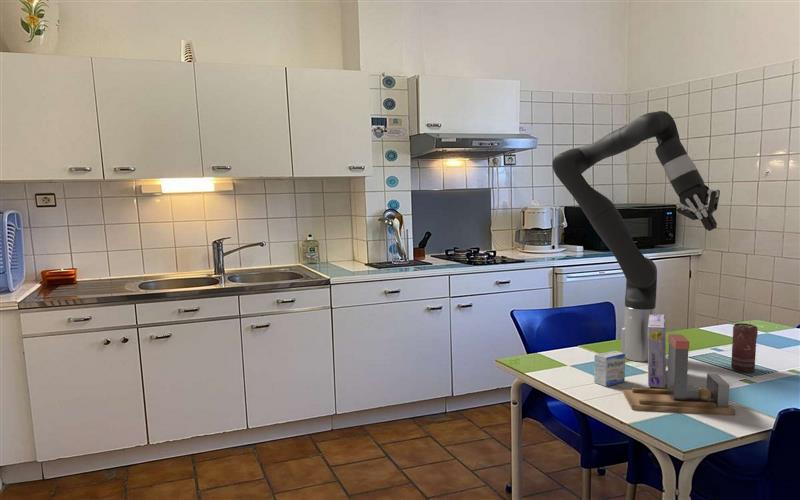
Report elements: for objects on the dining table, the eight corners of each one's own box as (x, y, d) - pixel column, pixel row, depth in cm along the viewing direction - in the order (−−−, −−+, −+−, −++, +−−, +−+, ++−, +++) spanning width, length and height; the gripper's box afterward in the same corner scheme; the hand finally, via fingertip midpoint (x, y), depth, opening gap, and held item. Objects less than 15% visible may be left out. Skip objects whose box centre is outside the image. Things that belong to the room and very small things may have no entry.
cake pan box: (647, 367, 173) (649, 311, 171) (665, 369, 171) (667, 313, 169) (645, 387, 156) (647, 326, 154) (665, 390, 154) (667, 328, 152)
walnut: (692, 400, 144) (693, 387, 143) (699, 397, 146) (700, 384, 145) (706, 404, 141) (707, 391, 140) (713, 401, 143) (714, 388, 142)
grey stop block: (717, 407, 139) (718, 384, 138) (706, 395, 147) (707, 373, 146) (728, 407, 138) (729, 384, 138) (716, 395, 146) (717, 373, 145)
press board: (632, 409, 141) (632, 401, 141) (623, 393, 152) (623, 386, 152) (734, 415, 137) (735, 406, 137) (718, 398, 148) (718, 390, 147)
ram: (673, 401, 141) (675, 340, 140) (666, 392, 148) (668, 334, 146) (699, 402, 140) (701, 341, 138) (691, 393, 147) (693, 334, 145)
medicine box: (605, 387, 157) (606, 357, 156) (593, 382, 161) (594, 353, 160) (625, 382, 161) (625, 353, 160) (612, 377, 165) (613, 349, 164)
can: (759, 373, 165) (761, 328, 164) (735, 372, 167) (738, 327, 165) (750, 367, 171) (753, 323, 170) (728, 366, 173) (730, 322, 171)
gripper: (655, 187, 159) (685, 241, 156) (696, 165, 148) (728, 223, 145) (670, 182, 163) (699, 235, 160) (710, 160, 152) (742, 217, 149)
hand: (712, 229), depth 153 cm, fingers closed
